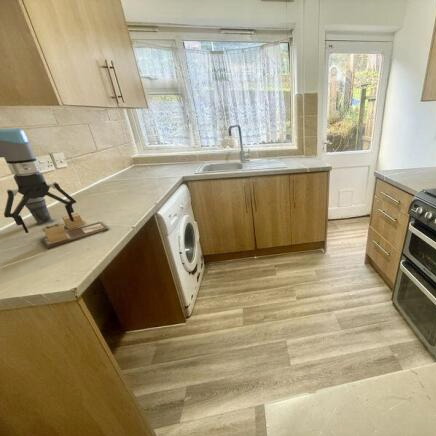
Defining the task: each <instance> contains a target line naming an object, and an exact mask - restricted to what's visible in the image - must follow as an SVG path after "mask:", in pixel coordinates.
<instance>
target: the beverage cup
mask: <svg viewBox="0 0 436 436" xmlns="http://www.w3.org/2000/svg"><path fill="white" fill-rule="evenodd" d="M24 207H26V209H28V211H29V213H30V214H31V216H32V217H33V219H34V220H35V221H36V222H37V224H39V225H42V224H43V225H44V224H47V223H50V222H51V221H52V217H51V214H50V212H49V209H48V205H47V203H46V199H45V198H44V197H42V198H36V199H30V198H29V200H28V201H27V202H26V204H25V206H24Z"/></svg>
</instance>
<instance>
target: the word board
mask: <svg viewBox="0 0 436 436" xmlns="http://www.w3.org/2000/svg"><path fill="white" fill-rule="evenodd" d="M65 231H66V234H67V236H68V238H66V239H62V240H59V241H56V242H52V243H50V241H49V240H48V238H47V236H45V237H42V241H43V243H44V244H45V246H46V247H47V249H48V250H51V249H55V248H57V247H60V246H63V245H66V244H69V243H73V242H76V241H79V240H82V239H85V238H87V237H91V236H94V235H97V234H100V233H104V232H108V231H109V229H108V227H107V226H105V225H104V224H103V223H102V222H100V221H98V222H95V223H91V224H87V225H83V226H79V227H76V228H72V229H69V230H65Z"/></svg>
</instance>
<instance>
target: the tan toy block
mask: <svg viewBox="0 0 436 436" xmlns="http://www.w3.org/2000/svg"><path fill="white" fill-rule="evenodd" d="M41 228H42V230H43V232H44V235H45V237H47V238H48V240H49V241H50V243H52V242H56V241H59V240H62V239H66V238H68V236H67V234H66V231H67V230H65V227H64V225H63V224H62V223H61V222H55V223H52V224H48V225H45V226H42V227H41Z"/></svg>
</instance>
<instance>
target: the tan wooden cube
mask: <svg viewBox="0 0 436 436" xmlns="http://www.w3.org/2000/svg"><path fill="white" fill-rule="evenodd" d="M71 214H72V217H73V219H74V221H71V220H70V218H69V215H68V214H65V215H61V218H62V220H63V222H64V225H65V227H66V228H67V230H73V229H76V228H80V227H83V226H85V225H84V222H83V219H82V217H81V215H80V214H79V212H74V213H71Z"/></svg>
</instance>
